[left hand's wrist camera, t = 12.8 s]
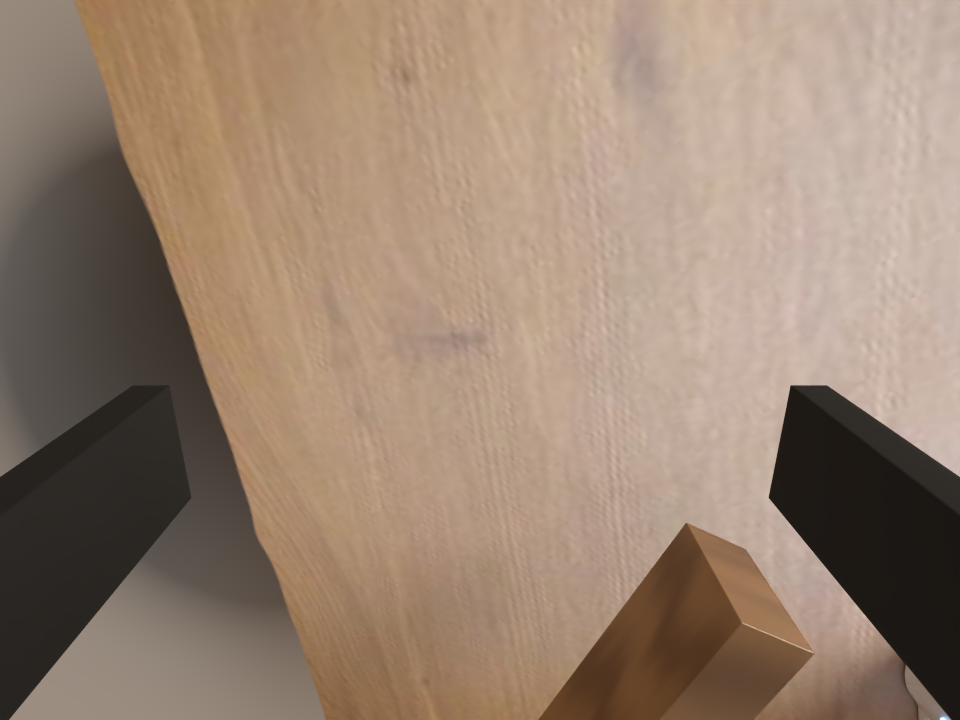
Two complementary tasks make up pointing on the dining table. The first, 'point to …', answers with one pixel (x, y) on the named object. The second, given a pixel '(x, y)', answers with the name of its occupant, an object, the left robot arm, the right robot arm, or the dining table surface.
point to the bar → (689, 643)
